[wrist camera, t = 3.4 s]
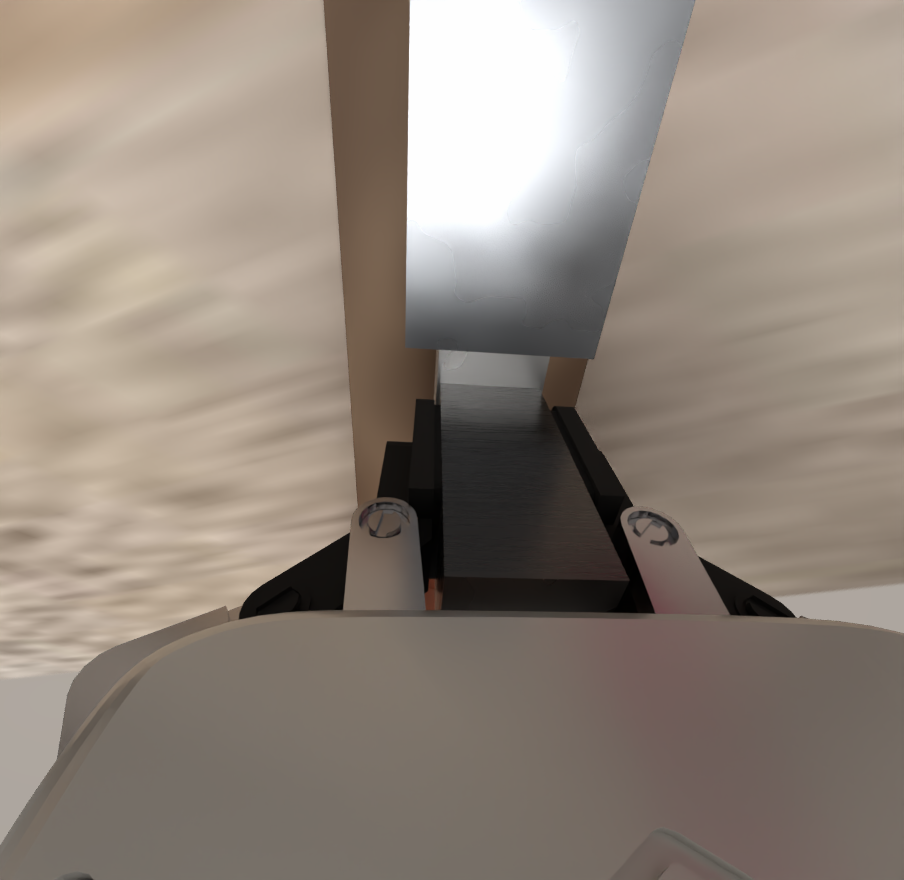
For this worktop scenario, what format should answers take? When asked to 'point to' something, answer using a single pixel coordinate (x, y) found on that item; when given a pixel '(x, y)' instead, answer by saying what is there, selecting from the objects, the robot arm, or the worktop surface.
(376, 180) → the base board
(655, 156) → the worktop surface
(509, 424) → the tube
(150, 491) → the worktop surface
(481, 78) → the outer sleeve
